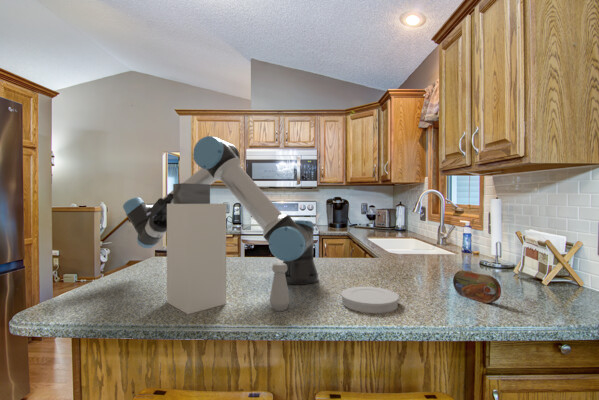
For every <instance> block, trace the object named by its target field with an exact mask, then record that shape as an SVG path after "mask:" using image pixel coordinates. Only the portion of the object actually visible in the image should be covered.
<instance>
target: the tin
mask: <svg viewBox="0 0 599 400" xmlns="http://www.w3.org/2000/svg"><path fill="white" fill-rule="evenodd" d="M452 285H453V287H454V289H455V291H456V293H458V295H459V296H462V297H464V298H467V299H470V300H473V301H477V302H479V303H483V304H490V303H494V302H495V303H496V302H497V301H498V300H499V299H500V298H501V296H502V295H501V294H502V287H501V284H500V282H499V281H498V280H497V279H496V278H495V277H494V276H492V275H489V274H485V273H480V272H476V271H471V270H462V269H461V270H459V271H457V272H455V274H454V275H453V280H452Z"/></svg>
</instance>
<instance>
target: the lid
mask: <svg viewBox="0 0 599 400" xmlns="http://www.w3.org/2000/svg"><path fill="white" fill-rule="evenodd" d="M340 296H341V303H342V304H343V306H344V307H346V308H348V309H350V310H352V311H356V312H361V313H369V314H383V313H385V314H386V313H389V312H393V311H395V310H397V309H398V306H399V305H398V303H399V302H400V295H399V294H398V293H396V292H394V291H393V290H390V289H386V288H382V287H378V286H377V287H376V286H352V287H347V288H345V289H344V290H341V293H340Z"/></svg>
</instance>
